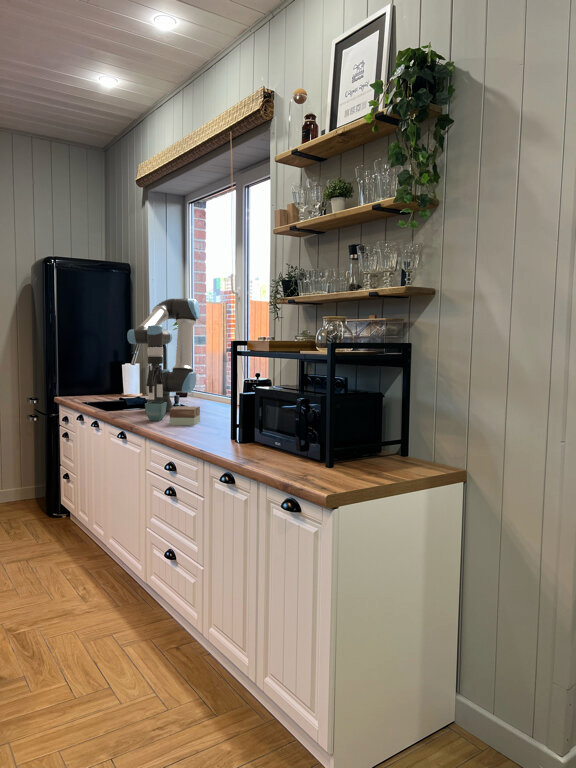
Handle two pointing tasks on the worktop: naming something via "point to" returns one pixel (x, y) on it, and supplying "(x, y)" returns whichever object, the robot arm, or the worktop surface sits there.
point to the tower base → (185, 421)
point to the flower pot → (155, 410)
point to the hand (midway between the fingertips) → (155, 398)
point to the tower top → (184, 412)
